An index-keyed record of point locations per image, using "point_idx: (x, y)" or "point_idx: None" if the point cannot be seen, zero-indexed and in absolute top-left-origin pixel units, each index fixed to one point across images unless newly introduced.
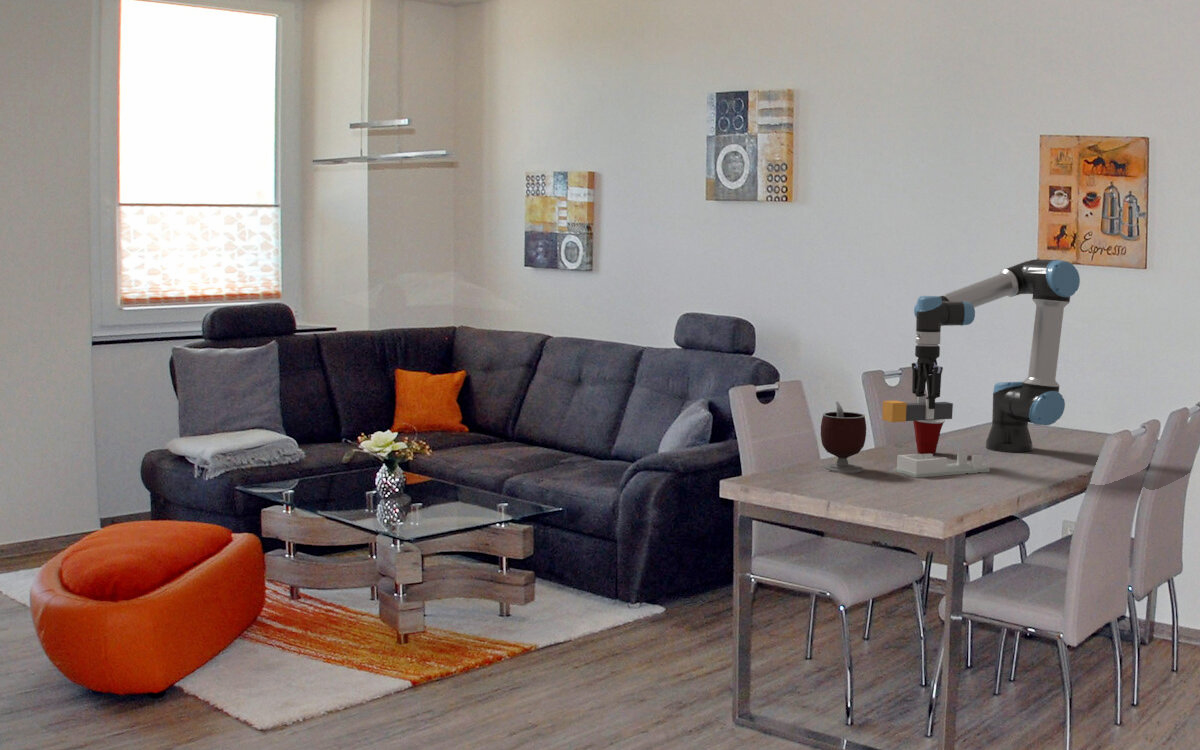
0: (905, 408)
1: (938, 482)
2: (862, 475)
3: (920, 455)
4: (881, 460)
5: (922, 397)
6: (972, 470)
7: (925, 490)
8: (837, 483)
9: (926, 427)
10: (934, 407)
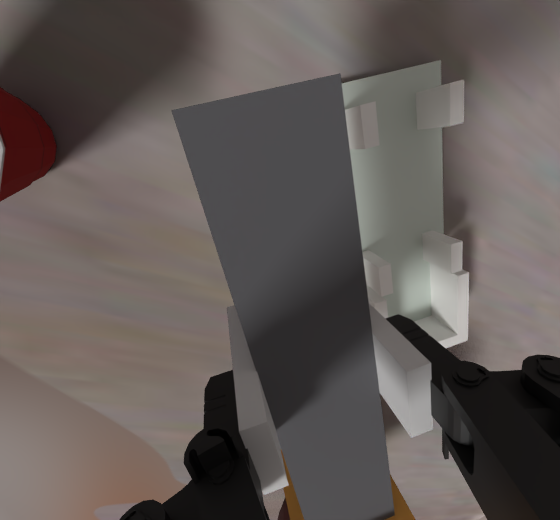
0: (399, 493)
1: (498, 283)
2: (386, 416)
3: (385, 303)
4: (199, 348)
5: (274, 446)
6: (440, 140)
7: (545, 331)
8: (439, 460)
9: (3, 179)
10: (412, 322)
